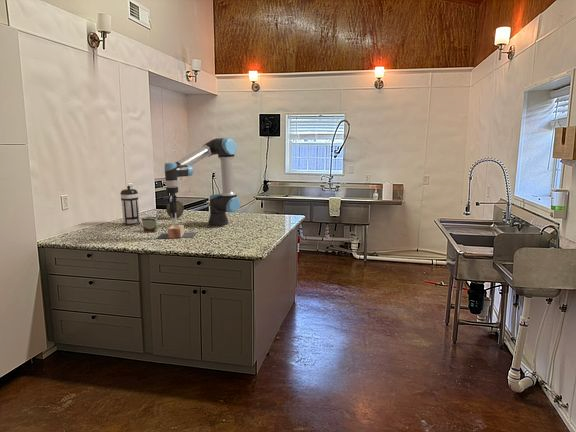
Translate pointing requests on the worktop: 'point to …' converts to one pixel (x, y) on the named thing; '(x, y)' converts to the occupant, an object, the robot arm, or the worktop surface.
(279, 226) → the worktop surface
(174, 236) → the maple block
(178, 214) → the cantaloupe
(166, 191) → the robot arm
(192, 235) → the rubber mat
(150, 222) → the food container
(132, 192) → the coffee press
